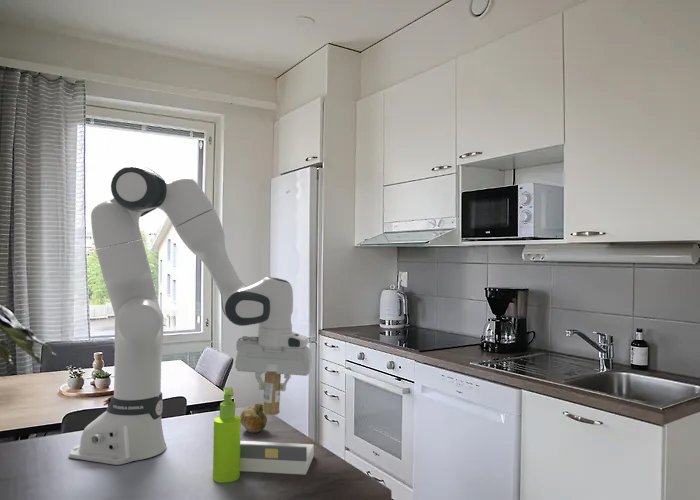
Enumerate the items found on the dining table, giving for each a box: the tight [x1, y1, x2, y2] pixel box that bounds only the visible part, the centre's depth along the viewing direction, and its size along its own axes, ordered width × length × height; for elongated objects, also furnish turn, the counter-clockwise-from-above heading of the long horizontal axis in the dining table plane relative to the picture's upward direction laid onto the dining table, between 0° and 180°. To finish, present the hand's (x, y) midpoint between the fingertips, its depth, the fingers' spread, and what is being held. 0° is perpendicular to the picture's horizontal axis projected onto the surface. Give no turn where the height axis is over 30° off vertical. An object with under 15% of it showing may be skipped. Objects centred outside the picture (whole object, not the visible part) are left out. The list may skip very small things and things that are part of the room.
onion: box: [239, 403, 268, 434], centre depth 150 cm, size 8×8×8 cm
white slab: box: [240, 440, 315, 475], centre depth 127 cm, size 20×11×6 cm, turn 84°
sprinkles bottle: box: [262, 364, 282, 416], centre depth 140 cm, size 5×5×13 cm
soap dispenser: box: [212, 387, 242, 484], centre depth 118 cm, size 6×7×20 cm
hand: (272, 390), depth 140 cm, fingers closed on sprinkles bottle, 4 cm apart
